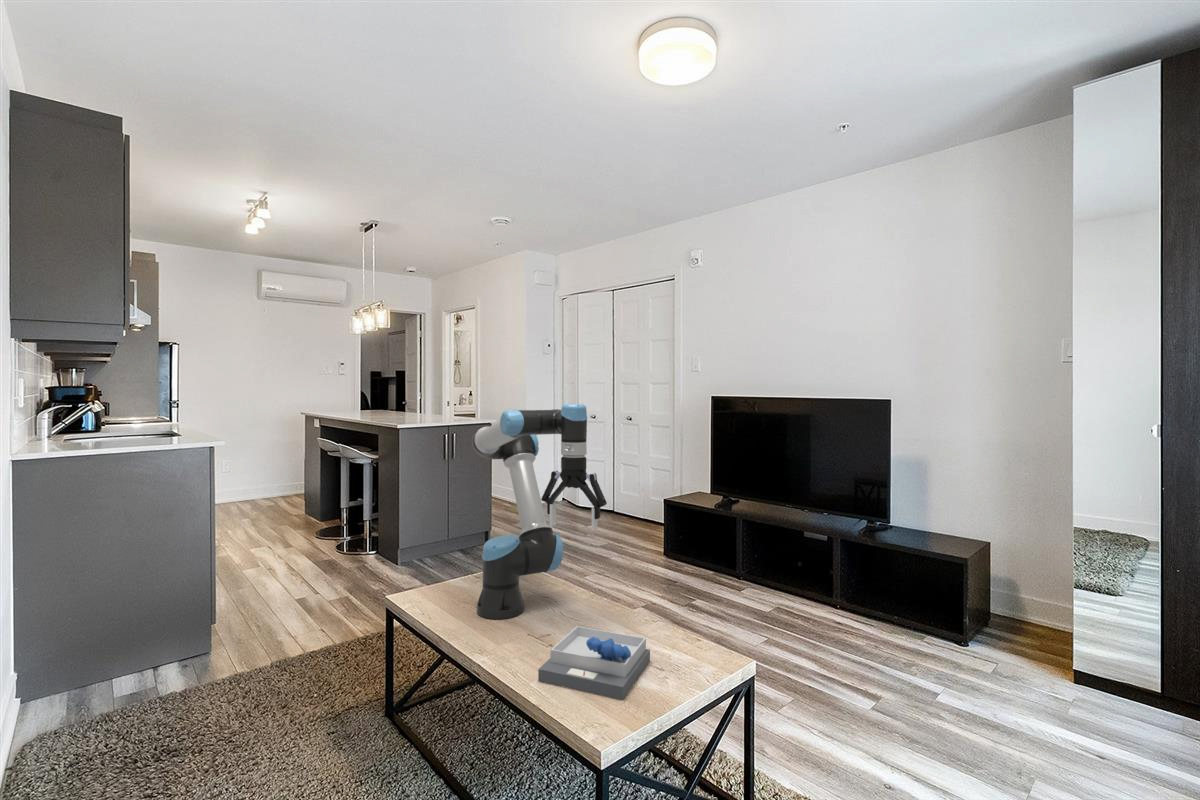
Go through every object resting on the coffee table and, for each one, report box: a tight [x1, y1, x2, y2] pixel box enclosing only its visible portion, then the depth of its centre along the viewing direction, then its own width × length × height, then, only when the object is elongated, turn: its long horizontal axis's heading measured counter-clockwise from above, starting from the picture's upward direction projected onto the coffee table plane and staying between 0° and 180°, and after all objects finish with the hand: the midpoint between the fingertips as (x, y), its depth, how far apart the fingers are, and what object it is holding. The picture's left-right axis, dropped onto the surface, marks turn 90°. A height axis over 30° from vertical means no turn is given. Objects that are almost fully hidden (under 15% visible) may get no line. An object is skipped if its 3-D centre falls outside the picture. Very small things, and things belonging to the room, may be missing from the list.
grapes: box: [586, 637, 631, 661], centre depth 142 cm, size 12×7×12 cm
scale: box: [537, 625, 651, 701], centre depth 146 cm, size 22×21×6 cm
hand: (573, 527), depth 170 cm, fingers open, 13 cm apart
